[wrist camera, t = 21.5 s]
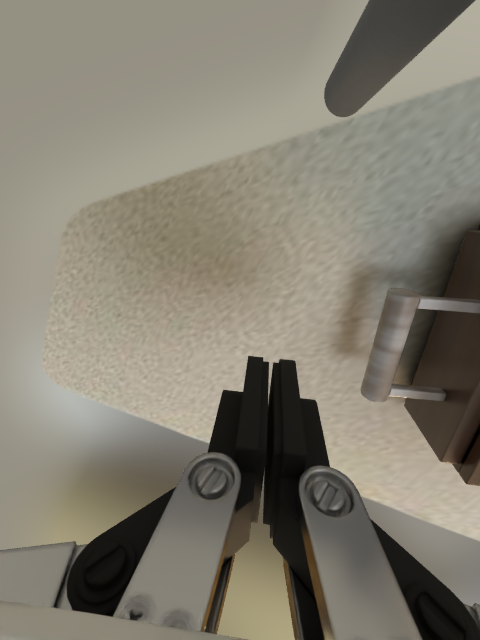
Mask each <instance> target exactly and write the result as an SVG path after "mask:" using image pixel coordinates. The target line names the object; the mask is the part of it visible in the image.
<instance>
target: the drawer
mask: <svg viewBox="0 0 480 640" xmlns="http://www.w3.org/2000/svg"><path fill="white" fill-rule="evenodd" d="M417 308H418V309H431V310H438V313H437V316H436V319H435V321H434V324H433V327H432V330H431V332H430V335H429V338H428V341H427V343H426V346H425V349H424V352H423V355H422V357H421V360H420V363H419V366H418V368H417V371H416V374H415V377H414V379H413V382H412V385H411V386H409V385H398V384H392V382H393V379H394V376H395V373H396V370H397V367H398V364H399V361H400V357H401V354H402V351H403V348H404V345H405V342H406V339H407V336H408V333H409V330H410V327H411V324H412V321H413V318H414V315H415V312H416V309H417ZM361 394H362V395H363V396H364V397H365V398H367V399H368V400H371V401H373V402H384V401H386V400H387V397H388V395H389V396H394V397H405V398H407V399H406V401H405V404H404V406H405V407H406V409H407V411H408V412H409V414H410V415H411V417H412V418H413V420H414V421H415V423H416V425H417V426H418V428H419V429H420V431H421V432H422V434H423V435H424V437H425V438H426V440H427V442H428V443H429V445H430V446H431V448H432V449H433V451H434V452H435V454H436V455H437V457H438V459H439V460H440V461H441V462H445V463H454V464H460V463H461V461H462V459H463V457H464V455H465V453H466V451H467V449H468V447H469V445H470V443H471V441H473V442H474V443H475V441H476V439H477V437H478V435H479V433H480V230H468V231H467V233H466V236H465V239H464V241H463V244H462V247H461V250H460V252H459V255H458V258H457V261H456V263H455V266H454V269H453V272H452V274H451V277H450V280H449V283H448V286H447V288H446V291H445V294H444V297H432V296H420V294H418V293H417V292H414V291H411V290H407V289H402V288H391V289H389V290H388V292H387V296H386V299H385V303H384V307H383V310H382V314H381V318H380V321H379V325H378V328H377V332H376V336H375V339H374V343H373V347H372V350H371V354H370V357H369V361H368V365H367V368H366V372H365V376H364V379H363V383H362V386H361Z"/></svg>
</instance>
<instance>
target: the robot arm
mask: <svg viewBox="0 0 480 640" xmlns="http://www.w3.org/2000/svg"><path fill="white" fill-rule="evenodd" d="M268 377H269V362H263V357H253V356H248V362H247V369H246V376H245V383H244V390H243V392H238V391H229V390H223V392H222V396H221V400H220V404H219V408H218V412H217V417H216V421H215V425H214V429H213V433H212V437H211V441H210V445H209V449H208V453H204V454H202V455H199V456H197V457H196V458H194V459H193V460H192V461H191V462H190V463H189V464H188V465H187V467H186V468H185V470H184V472H183V474H182V476H181V478H180V480H179V483H178V484H177V486H176V487H175V488H174V489H172V490H170V491H169V492H167V493H166V494H164V495H163V496H161V497H159V498H158V499H156V500H155V501H153V502H151V503H150V504H148V505H147V506H145V507H144V508H142V509H140V510H139V511H137V512H136V513H134V514H132V515H131V516H129V517H128V518H126V519H125V520H123V521H121V522H120V523H118V524H117V525H115V526H114V527H112V528H110V529H109V530H107V531H106V532H104V533H103V534H101V535H99V536H98V537H96V538H95V539H94V540H93V541H91V542H90V543H89V544H85V545H76V542H75V541H74V542H66V543H58V544H49V545H41V546H32V547H23V548H15V549H6V550H0V640H246V639H241V638H235V637H229V636H223V635H217V631H218V626H219V622H220V618H221V614H222V609H223V605H224V601H225V597H226V592H227V588H228V583H229V580H230V575H231V571H232V566H233V562H234V558H235V553H236V552H237V551H238V550H239V549H240V548H242V547H243V546H244V545H245V544H246V543H247V542H248V541H249V537H250V528H251V522H255V523H257V522H258V515H259V507H260V499H261V491H262V483H263V476H264V509H263V511H264V512H263V523H264V524H268V525H270V538H273V545H274V546H275V547H276V549H277V550H278V551H279V552H280V554H281V555H282V556H283V559H284V560H283V561H284V572H285V578H286V585H287V592H288V598H289V605H290V611H291V618H292V625H293V631H294V637H295V640H480V605H479V604H476V603H475V604H474V605H473V606H472V607H471V606H468V605H466V604H463V603H462V602H461V601H460V600H459V599H458V598H457V597H456V596H455V595H454V593H453V592H451V590H450V589H448V588H447V587H446V586H445V585H444V584H443V583H442V582H440V581H439V580H438V579H437V578H436V577H435V576H434V575H433V574H432V573H430V572H429V571H428V570H427V569H426V568H425V567H424V566H423V565H422V564H420V563H419V562H418V561H417V560H416V559H415V558H414V557H413V556H411V555H410V554H409V553H408V552H407V551H406V550H405V549H404V548H402V547H401V546H400V545H399V544H398V543H397V542H396V541H395V540H393V539H392V538H391V537H390V536H389V535H388V534H387V533H386V532H385V531H383V530H382V529H381V528H380V527H379V526H378V525H377V524H376V523H374V522H373V521H372V520H371V519H370V517H369V515H368V513H367V511H366V508H365V506H364V504H363V501H362V499H361V497H360V494H359V492H358V490H357V489H356V487H355V485H354V484H353V482H352V481H351V480H350V479H349V478H348V477H347V476H346V475H344V474H343V473H341V472H340V471H338V470H336V469H334V468H331V467H330V465H329V460H328V455H327V450H326V445H325V440H324V436H323V431H322V426H321V421H320V416H319V411H318V406H317V402H316V401H315V400H311V399H302V398H300V394H299V386H298V379H297V371H296V363H295V361H293V360H283V359H280V360H279V363H273V369H272V378H271V386H270V394H269V403H268ZM264 468H265V474H264Z"/></svg>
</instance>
